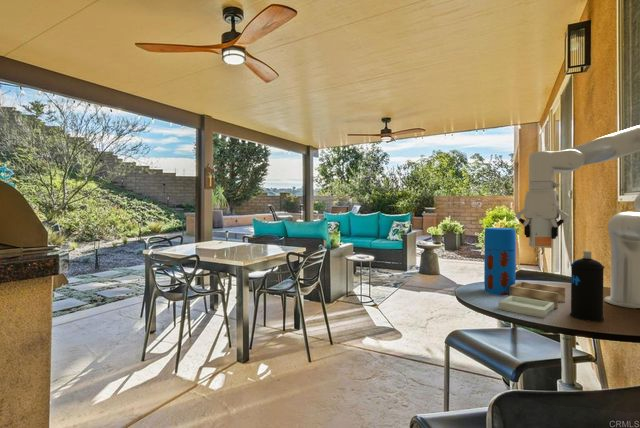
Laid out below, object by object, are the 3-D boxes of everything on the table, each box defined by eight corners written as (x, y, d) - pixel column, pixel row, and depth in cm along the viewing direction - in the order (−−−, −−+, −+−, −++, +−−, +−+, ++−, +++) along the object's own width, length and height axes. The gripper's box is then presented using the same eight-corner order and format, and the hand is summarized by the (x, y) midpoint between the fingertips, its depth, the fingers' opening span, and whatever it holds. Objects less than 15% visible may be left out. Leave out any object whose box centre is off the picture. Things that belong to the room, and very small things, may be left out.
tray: (554, 309, 112) (554, 302, 112) (544, 318, 104) (544, 310, 104) (510, 301, 122) (510, 295, 122) (498, 309, 113) (498, 302, 113)
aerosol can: (604, 317, 105) (605, 251, 104) (603, 323, 99) (604, 254, 98) (571, 311, 110) (572, 249, 110) (568, 317, 104) (568, 251, 104)
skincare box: (533, 247, 120) (533, 213, 119) (529, 246, 124) (529, 212, 124) (553, 248, 118) (553, 213, 118) (548, 246, 122) (548, 213, 122)
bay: (565, 301, 122) (565, 287, 122) (557, 308, 114) (557, 293, 113) (519, 294, 132) (519, 281, 132) (509, 300, 124) (509, 286, 124)
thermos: (519, 296, 129) (520, 229, 129) (488, 295, 131) (489, 229, 131) (509, 289, 140) (510, 227, 139) (481, 288, 142) (481, 227, 141)
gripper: (574, 186, 117) (573, 238, 117) (517, 188, 129) (516, 235, 130) (569, 185, 112) (568, 240, 112) (510, 187, 124) (510, 237, 125)
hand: (540, 237), depth 121 cm, fingers closed on skincare box, 7 cm apart
